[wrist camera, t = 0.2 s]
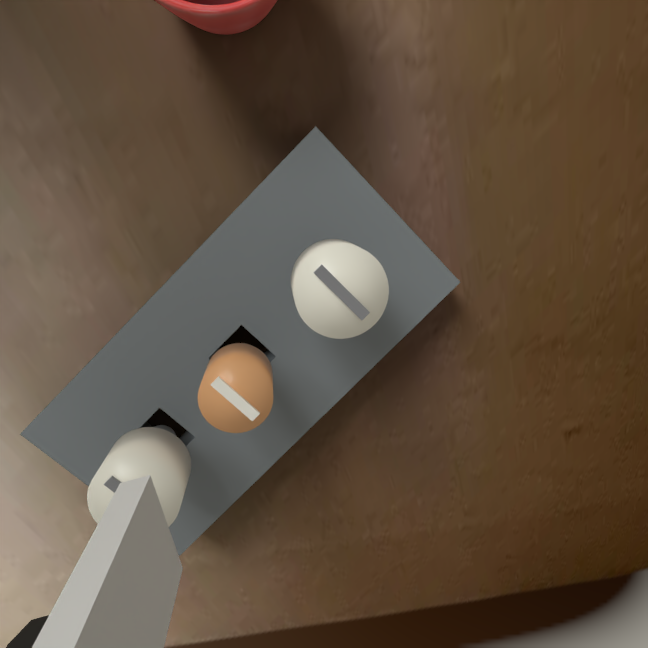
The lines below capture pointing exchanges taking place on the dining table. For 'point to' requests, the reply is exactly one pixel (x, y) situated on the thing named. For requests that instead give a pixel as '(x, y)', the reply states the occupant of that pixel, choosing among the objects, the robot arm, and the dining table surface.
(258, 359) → the pot knob
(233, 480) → the control box
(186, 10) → the flower pot
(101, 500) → the knob
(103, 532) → the robot arm
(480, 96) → the dining table surface
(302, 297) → the knob
